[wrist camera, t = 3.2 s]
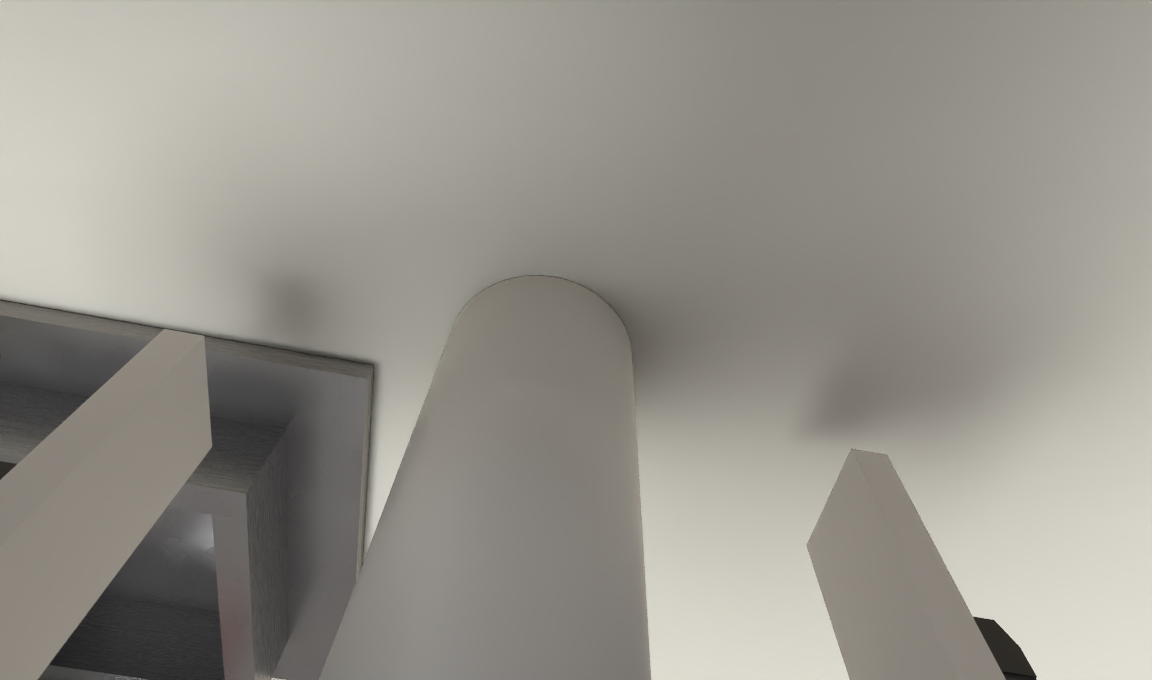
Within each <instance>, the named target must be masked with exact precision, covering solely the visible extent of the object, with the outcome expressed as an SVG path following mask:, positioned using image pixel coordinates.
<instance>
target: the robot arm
mask: <svg viewBox="0 0 1152 680" xmlns="http://www.w3.org/2000/svg"><path fill="white" fill-rule="evenodd" d="M211 448H212V437H211V423H210V409H209V395H208V381H207V367H206V353H205V339H204V336H203V335H197V334H191V333H185V332H180V331H174V330H168V329H164V330H162V331H161V332H160V333H159V334H158V335H157V336H156V337H155V338H154V339H153V340H152V341H151V342H149V343H148V344H147V345H146V346H145V347H144V348H143V349H142V350H141V351H140V352H139V353H138V354H136V355H135V356H134V357H133V358H132V359H131V360H130V361H129V362H128V363H127V364H126V365H124V366H123V367H122V368H121V369H120V370H119V371H118V372H117V373H116V374H115V375H114V376H113V377H111V378H110V379H109V380H108V381H107V382H106V383H105V384H104V385H103V386H102V387H101V388H100V389H98V390H97V391H96V392H95V393H94V394H93V395H92V396H91V397H90V398H89V399H88V400H86V401H85V402H84V403H83V404H82V405H81V406H80V407H79V408H78V409H77V410H76V411H75V412H73V413H72V414H71V415H70V416H69V417H68V418H67V419H66V420H65V421H64V422H63V423H62V424H60V425H59V426H58V427H57V428H56V429H55V430H54V431H53V432H52V433H51V434H50V435H49V436H47V437H46V438H45V439H44V440H43V441H42V442H41V443H40V444H39V445H38V446H37V447H35V448H34V449H33V450H32V451H31V452H30V453H29V454H28V455H27V456H26V457H25V458H24V459H22V460H21V461H20V462H19V463H18V464H15V463H9V462H3V461H0V680H38V678H39V677H40V676H41V674H42V673H43V672H44V670H45V669H46V668H47V666H48V665H49V664H50V662H51V661H52V660H53V658H54V657H55V656H56V654H57V653H58V652H59V650H60V649H61V648H62V646H63V645H64V644H65V642H66V641H67V640H68V638H69V637H70V636H71V634H72V633H73V632H74V630H75V629H76V628H77V626H78V625H79V624H80V622H81V621H82V620H83V618H84V617H85V616H86V614H87V613H88V612H89V610H90V609H91V608H92V606H93V605H94V604H95V602H96V601H97V600H98V598H99V597H100V596H101V594H102V593H103V592H104V590H105V589H106V588H107V586H108V585H109V584H110V582H111V581H112V580H113V578H114V577H115V576H116V574H117V573H118V572H119V570H120V569H121V568H122V566H123V565H124V564H125V562H126V561H127V560H128V558H129V557H130V556H131V554H132V553H133V552H134V550H135V549H136V548H137V546H138V545H139V544H140V542H141V541H142V540H143V538H144V537H145V536H146V534H147V533H148V532H149V530H150V529H151V528H152V526H153V525H154V524H155V522H156V521H157V520H158V518H159V517H160V516H161V514H162V513H163V512H164V510H165V509H166V508H167V506H168V505H169V504H170V502H171V501H172V500H173V498H174V497H175V496H176V494H177V493H178V492H179V490H180V489H181V488H182V486H183V485H184V484H185V482H186V481H187V480H188V478H189V477H190V476H191V474H192V473H193V472H194V470H195V469H196V468H197V466H198V465H199V464H200V462H201V461H202V460H203V458H204V457H205V456H206V454H207V453H208V452H209V450H210V449H211ZM807 548H808V551H809V554H810V558H811V561H812V564H813V567H814V570H815V573H816V576H817V579H818V582H819V585H820V589H821V592H822V595H823V598H824V601H825V604H826V607H827V610H828V613H829V616H830V620H831V623H832V626H833V629H834V632H835V635H836V638H837V641H838V644H839V647H840V651H841V654H842V657H843V660H844V663H845V666H846V669H847V672H848V675H849V678H850V680H1036V677H1037V676H1036V675H1035V673H1034V671H1033V669H1032V668H1031V666H1030V664H1029V662H1028V661H1027V659H1026V657H1025V655H1024V654H1023V652H1022V650H1021V648H1020V647H1019V646H1018V645H1017V644H1016V643H1015V642H1014V641H1013V640H1012V638H1011V637H1010V636H1009V635H1008V634H1007V633H1006V632H1005V631H1004V630H1003V629H1002V628H1001V627H1000V626H999V625H998V624H997V623H996V622H995V621H994V620H990V619H984V618H978V617H973V616H972V615H971V613H970V611H969V609H968V607H967V605H966V603H965V601H964V599H963V597H962V596H961V594H960V592H959V590H958V588H957V586H956V584H955V582H954V580H953V579H952V577H951V575H950V573H949V571H948V569H947V567H946V565H945V563H944V562H943V560H942V558H941V556H940V554H939V552H938V550H937V548H936V546H935V545H934V543H933V541H932V539H931V537H930V535H929V533H928V531H927V529H926V528H925V526H924V524H923V522H922V520H921V518H920V516H919V514H918V512H917V510H916V509H915V507H914V505H913V503H912V501H911V499H910V497H909V495H908V493H907V492H906V490H905V488H904V486H903V484H902V482H901V480H900V478H899V476H898V475H897V473H896V471H895V469H894V467H893V465H892V463H891V461H890V459H889V458H888V456H887V455H884V454H879V453H873V452H867V451H861V450H856V449H851V451H850V453H849V455H848V457H847V459H846V462H845V464H844V466H843V468H842V470H841V472H840V474H839V477H838V479H837V481H836V483H835V485H834V487H833V489H832V492H831V494H830V496H829V498H828V500H827V502H826V504H825V507H824V509H823V511H822V513H821V515H820V517H819V520H818V522H817V524H816V526H815V528H814V530H813V532H812V535H811V537H810V539H809V541H808V543H807Z"/></svg>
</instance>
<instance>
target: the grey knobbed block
mask: <svg viewBox="0 0 1152 680" xmlns="http://www.w3.org/2000/svg"><path fill="white" fill-rule="evenodd" d="M162 330H164V329H161V328H155V327H149V326H144V325H138V324H132V323H127V322H121V321H115V320H109V319H104V318H98V317H92V316H86V315H81V314H75V313H69V312H64V311H58V310H52V309H46V308H41V307H35V306H29V305H23V304H18V303H12V302H6V301H1V300H0V461H3V462H9V463H15V464H18V463H19V462H20V461H21V460H22V459H24V458H25V457H26V456H27V455H28V454H29V453H30V452H31V451H32V450H33V449H34V448H35V447H37V446H38V445H39V444H40V443H41V442H42V441H43V440H44V439H45V438H46V437H47V436H49V435H50V434H51V433H52V432H53V431H54V430H55V429H56V428H57V427H58V426H59V425H60V424H62V423H63V422H64V421H65V420H66V419H67V418H68V417H69V416H70V415H71V414H72V413H73V412H75V411H76V410H77V409H78V408H79V407H80V406H81V405H82V404H83V403H84V402H85V401H86V400H88V399H89V398H90V397H91V396H92V395H93V394H94V393H95V392H96V391H97V390H98V389H100V388H101V387H102V386H103V385H104V384H105V383H106V382H107V381H108V380H109V379H110V378H111V377H113V376H114V375H115V374H116V373H117V372H118V371H119V370H120V369H121V368H122V367H123V366H124V365H126V364H127V363H128V362H129V361H130V360H131V359H132V358H133V357H134V356H135V355H136V354H138V353H139V352H140V351H141V350H142V349H143V348H144V347H145V346H146V345H147V344H148V343H149V342H151V341H152V340H153V339H154V338H155V337H156V336H157V335H158V334H159V333H160V332H161V331H162ZM204 339H205V353H206V367H207V381H208V395H209V409H210V423H211V437H212V448H211V449H210V450H209V452H208V453H207V454H206V456H205V457H204V458H203V460H202V461H201V462H200V464H199V465H198V466H197V468H196V469H195V470H194V472H193V473H192V474H191V476H190V477H189V478H188V480H187V481H186V482H185V484H184V485H183V486H182V488H181V489H180V490H179V492H178V493H177V494H176V496H175V497H174V498H173V500H172V501H171V502H170V504H169V505H168V506H167V508H166V509H165V510H164V512H163V513H162V514H161V516H160V517H159V518H158V520H157V521H156V522H155V524H154V525H153V526H152V528H151V529H150V530H149V532H148V533H147V534H146V536H145V537H144V538H143V540H142V541H141V542H140V544H139V545H138V546H137V548H136V549H135V550H134V552H133V553H132V554H131V556H130V557H129V558H128V560H127V561H126V562H125V564H124V565H123V566H122V568H121V569H120V570H119V572H118V573H117V574H116V576H115V577H114V578H113V580H112V581H111V582H110V584H109V585H108V586H107V588H106V589H105V590H104V592H103V593H102V594H101V596H100V597H99V598H98V600H97V601H96V602H95V604H94V605H93V606H92V608H91V609H90V610H89V612H88V613H87V614H86V616H85V617H84V618H83V620H82V621H81V622H80V624H79V625H78V626H77V628H76V629H75V630H74V632H73V633H72V634H71V636H70V637H69V638H68V640H67V641H66V642H65V644H64V645H63V646H62V648H61V649H60V650H59V652H58V653H57V654H56V656H55V657H54V658H53V660H52V661H51V662H50V664H49V665H48V666H47V668H46V669H45V670H44V672H43V673H42V674H41V676H40V677H39V678H38V680H271V678H272V677H273V678H279V679H286V680H319V679H320V676H321V673H322V671H323V668H324V666H325V663H326V660H327V658H328V655H329V652H330V650H331V647H332V644H333V642H334V639H335V636H336V634H337V631H338V628H339V626H340V623H341V621H342V618H343V615H344V613H345V610H346V607H347V605H348V602H349V599H350V597H351V594H352V591H353V589H354V586H355V583H356V581H357V578H358V576H359V573H360V570H361V568H362V558H363V541H364V524H365V507H366V490H367V473H368V456H369V439H370V422H371V405H372V388H373V371H374V366H373V365H367V364H361V363H356V362H350V361H344V360H338V359H333V358H327V357H321V356H316V355H310V354H304V353H298V352H293V351H287V350H281V349H275V348H270V347H264V346H258V345H253V344H247V343H241V342H235V341H230V340H224V339H218V338H212V337H207V336H204Z"/></svg>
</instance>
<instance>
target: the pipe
mask: <svg viewBox="0 0 1152 680" xmlns="http://www.w3.org/2000/svg"><path fill="white" fill-rule="evenodd" d="M319 680H651V670H650V653H649V635H648V618H647V601H646V584H645V567H644V550H643V533H642V516H641V498H640V481H639V464H638V447H637V430H636V413H635V396H634V379H633V362H632V350H631V344H630V340H629V336H628V333H627V331H626V329H625V327H624V324H623V323H622V321H621V320H620V318H619V317H618V315H617V314H616V312H615V311H614V310H613V309H612V308H611V307H610V305H608V304H607V303H606V302H605V301H604V300H603V299H602V298H601V297H599V296H598V295H596V294H595V293H593V292H592V291H591V290H589V289H587V288H585V287H583V286H581V285H579V284H576V283H574V282H571V281H568V280H564V279H560V278H556V277H549V276H523V277H516V278H512V279H507V280H504V281H501V282H499V283H496V284H494V285H492V286H490V287H488V288H486V289H484V290H483V291H481V292H480V293H479V294H477V295H476V296H475V297H473V298H472V299H471V300H470V301H469V302H468V303H467V304H466V305H465V307H464V308H463V309H462V310H461V312H460V313H459V315H458V317H457V318H456V320H455V322H454V324H453V327H452V329H451V332H450V335H449V337H448V340H447V343H446V345H445V348H444V351H443V353H442V356H441V359H440V361H439V364H438V366H437V369H436V372H435V374H434V377H433V380H432V382H431V385H430V388H429V390H428V393H427V396H426V398H425V401H424V404H423V406H422V409H421V411H420V414H419V417H418V419H417V422H416V425H415V427H414V430H413V433H412V435H411V438H410V441H409V443H408V446H407V449H406V451H405V454H404V456H403V459H402V462H401V464H400V467H399V470H398V472H397V475H396V478H395V480H394V483H393V486H392V488H391V491H390V493H389V496H388V499H387V501H386V504H385V507H384V509H383V512H382V515H381V517H380V520H379V523H378V525H377V528H376V531H375V533H374V536H373V538H372V541H371V544H370V546H369V549H368V552H367V554H366V557H365V560H364V562H363V565H362V568H361V570H360V573H359V576H358V578H357V581H356V583H355V586H354V589H353V591H352V594H351V597H350V599H349V602H348V605H347V607H346V610H345V613H344V615H343V618H342V621H341V623H340V626H339V628H338V631H337V634H336V636H335V639H334V642H333V644H332V647H331V650H330V652H329V655H328V658H327V660H326V663H325V666H324V668H323V671H322V673H321V676H320V679H319Z"/></svg>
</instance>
